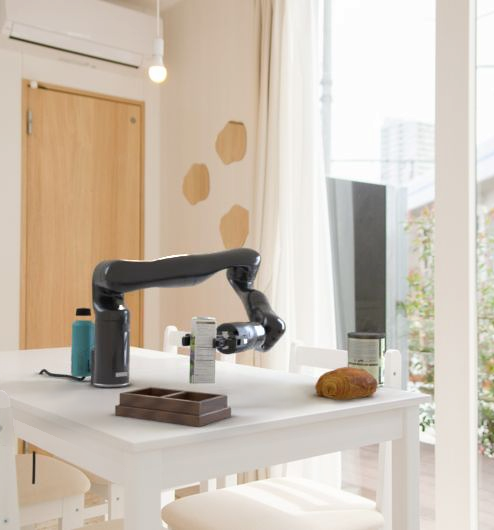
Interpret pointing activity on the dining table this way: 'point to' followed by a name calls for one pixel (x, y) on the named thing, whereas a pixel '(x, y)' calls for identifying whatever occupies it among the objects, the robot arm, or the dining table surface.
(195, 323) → the syrup box
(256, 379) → the dining table surface
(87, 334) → the beverage bottle
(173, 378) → the dining table surface
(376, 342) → the coffee can
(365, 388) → the croissant
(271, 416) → the dining table surface
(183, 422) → the shallow walnut tray
